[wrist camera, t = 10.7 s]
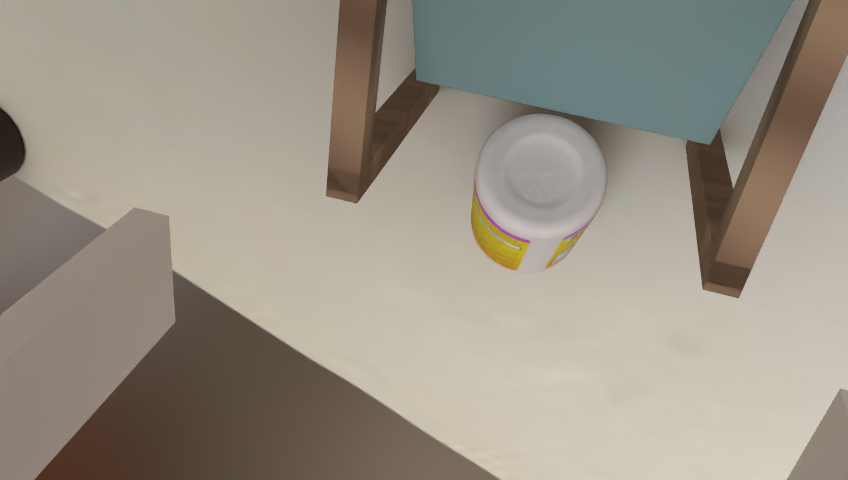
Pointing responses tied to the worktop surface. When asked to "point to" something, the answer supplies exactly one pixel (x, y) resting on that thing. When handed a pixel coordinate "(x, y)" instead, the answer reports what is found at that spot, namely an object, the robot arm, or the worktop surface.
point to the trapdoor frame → (708, 171)
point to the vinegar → (9, 148)
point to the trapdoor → (601, 56)
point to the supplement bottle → (536, 191)
